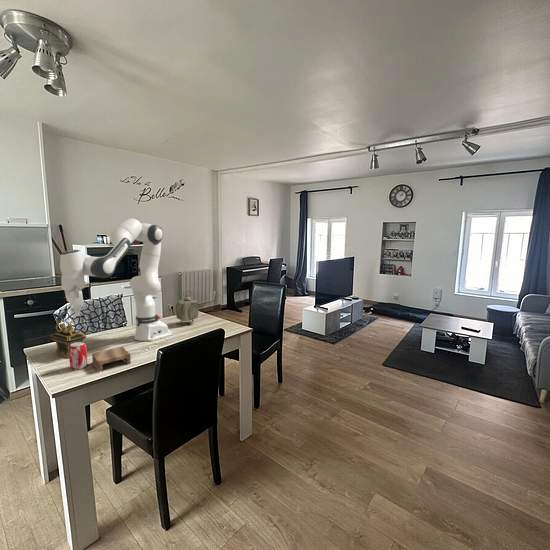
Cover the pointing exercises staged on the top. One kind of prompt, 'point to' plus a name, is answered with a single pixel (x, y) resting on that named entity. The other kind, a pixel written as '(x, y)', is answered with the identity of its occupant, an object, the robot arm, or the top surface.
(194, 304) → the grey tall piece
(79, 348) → the soda can
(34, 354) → the top surface
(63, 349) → the decorative box
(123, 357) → the walnut shelf
